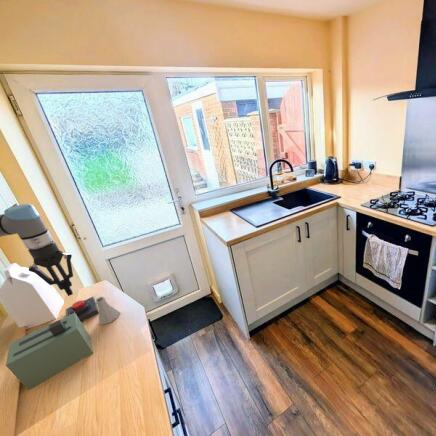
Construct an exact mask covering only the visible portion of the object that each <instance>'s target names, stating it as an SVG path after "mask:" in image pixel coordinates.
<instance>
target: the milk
mask: <svg viewBox="0 0 436 436" xmlns="http://www.w3.org/2000/svg"><path fill="white" fill-rule="evenodd" d="M3 273H4V276H5V278H6V279H5V280H4V282H3V283H2V285H1V287H0V301H1V303H2V305H4V307H5V309H6V311H7V312H8V313H9V316H10V317H11V318H12V320H13V321H14V322H15V324H16V326H17V327H18V328H19V329H20V328H23V327H25V330H28V329H31V328H34V327H37V326H39V325H42V324H46V323H49V322H51V321H54V320H57V318H58V316H59V314H60V312H61V310H62V308H63V305H64V304H65V300H64V299H63V298H62V296H61V295H60V294H59V292H58V291H57V289H56V288H55V286H53V285H54V284H53V285H49V284H48V283H47V282H45V281H44V280H43V279H42V278H41V277H39V276H38V275H37V274H36V273H34V272H31V271H29V267H25V266H20V265H19V264H18V263H16V262H13V263H10V264H9V265H8V266H7V267H6V268H5V269H4V270H3Z"/></svg>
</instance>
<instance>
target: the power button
mask: <svg viewBox="0 0 436 436" xmlns="http://www.w3.org/2000/svg"><path fill="white" fill-rule="evenodd" d="M83 306H85V303H84V300H81V299H80V300H78V301H75V302H74V303H73V304H72V305H71V307H72V308H73V309H74V310H78V309H80V308H82V307H83Z"/></svg>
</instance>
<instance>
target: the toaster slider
mask: <svg viewBox="0 0 436 436" xmlns="http://www.w3.org/2000/svg"><path fill="white" fill-rule="evenodd" d="M58 320H59V321H58ZM58 320H56V321H57V322H56V321H54V322H55V323H54V322H52V323H53V324H51V323H49V324H50V325H49V324H48V325H49V330H50V331H51V333H52V334H53V335H54V337H55V336H57V335H59V334H61V333H63V332H65V331H66V327H65V325H64V324H63V322H62V321H61V320H60V319H58Z"/></svg>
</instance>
